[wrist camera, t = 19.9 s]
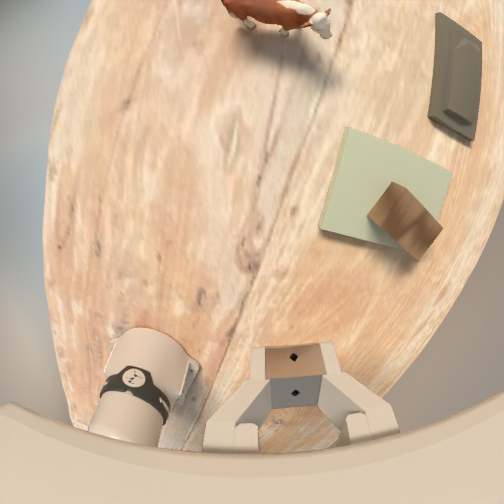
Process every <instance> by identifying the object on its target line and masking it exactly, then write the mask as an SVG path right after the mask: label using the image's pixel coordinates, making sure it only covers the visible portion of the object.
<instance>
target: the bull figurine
mask: <svg viewBox="0 0 504 504" xmlns="http://www.w3.org/2000/svg"><path fill="white" fill-rule="evenodd" d="M221 1H222V3H223V5H224V6H225V7H226V9H227V10H228V13H229V15H230V16H231V17H233V18H235V19H238V18H240V19H241V20H243V22H244V25H247V26H248V27H249V28H251V29H253V28H255V27H256V24H255V23H253V22H251V21H249V20H248V19H247V16H251V17H252V18H254V19H255V20H257V21H259V22H262V23H265V24H277V25H281V26H282V27H283V28H281V29H280V30H279V32H281V33H282V35H283V36H287V35H289V32H288V31H289V30H292V29H297V28H299V27H301V28H305V27H308V26H310V27H311V29H312V30H313V31H315V32H317V33H319V34H320V36H321V37H322V38H323V39H328V38H330V37H332V33H331V32H330V20H329V19H328V18H327V16H328V15H329V13H330V11H331V9H328V10H327V11H325V12H324V13H319V12H318V11H317V10H316V9H315V8H313V7H312V6H309V5H307V4H305V3H303V2H301V1H299V0H221Z"/></svg>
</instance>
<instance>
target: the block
mask: <svg viewBox="0 0 504 504" xmlns="http://www.w3.org/2000/svg"><path fill="white" fill-rule="evenodd" d="M367 216H368V217H369V218H370V219H371V220H373V221H374V222H375V223H376V224H377V225H378V226H379V227H381V228H382V229H383V230H384V231H385V232H386V233H387V234H389V235H390V236H391V237H392V238H393V239H394V240H395V241H396V242H398V243H399V244H400V245H401V246H402V247H403V248H404V249H405V250H406V251H407V252H408V253H410V254H411V255H412V256H413V257H414V258H415V259H416V260H417V261H419V259H420V258H421V257H422V256H423V254H424V253H425V252H426V251H427V249H428V248H429V247H430V245H431V244H432V243H433V241H434V240H435V239H436V237H437V236H438V235H439V233H440V232H441V231H442V229H443V228H442V226H441V225H440V224H439V223H438V222H437V221H436V220H435V218H434V217H433V216H432V215H431V214H430V213H429V212H428V211H427V209H426V208H425V207H424V206H423V205H422V204H421V203H420V202H419V201H418V200H417V199H416V198H415V197H414V196H413V195H412V193H411V192H410V191H409V190H408V189H407V188H405V187H403V186H401V185H399V184H397V183H395V182H391V184H390V185H389V186H388V188H387V189H386V190H385V192H384V193H383V194H382V196H381V197H380V198H379V200H378V201H377V202H376V204H375V205H374V206H373V208H372V209H371V210H370V212H369V213H368V214H367Z"/></svg>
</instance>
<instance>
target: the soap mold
mask: <svg viewBox="0 0 504 504" xmlns="http://www.w3.org/2000/svg"><path fill="white" fill-rule="evenodd" d="M481 77H482V42H481V41H480V40H479V39H477V38H476V37H475V36H473V35H472V34H471V33H470V32H468V31H467V30H465V29H464V28H463V27H461V26H460V25H459V24H457V23H456V22H454V21H453V20H451V19H450V18H448V17H447V16H445V15H444V14H442V13H441V12H440V13H436V14H435V54H434V68H433V78H432V88H431V96H430V104H429V110H428V117H429V118H430V119H432V120H434V121H436V122H438V123H440V124H442V125H443V126H445V127H447V128H449V129H451V130H452V131H454V132H456V133H458V134H459V135H461V136H463V137H464V138H466V139H468V140H469V141H474V138H475V132H476V126H477V119H478V112H479V103H480V92H481Z"/></svg>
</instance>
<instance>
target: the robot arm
mask: <svg viewBox="0 0 504 504" xmlns="http://www.w3.org/2000/svg"><path fill="white" fill-rule="evenodd" d="M109 347H110V350H111V354H110V357H109V359H108V361H107V364H106V366H105V368H104V373H105V376H106V378H107V380H106V382H105V383H104V385H103V387H102V389H101V393H100V401H99V403H98V405H97V408H96V410H95V412H94V414H93V417H92V419H91V421H90V424H89V426H88V431H85V430H82V429H79V428H76V427H73V426H70V425H67V424H64V423H61V422H59V421H56V420H53V419H51V418H48V417H46V416H43V415H41V414H39V413H36V412H34V411H31V410H29V409H27V408H25V407H23V406H21V405H18V404H16V403H12V402H11V403H7V404H5V405H3V406H1V407H0V504H504V391H502V392H500V393H498V394H496V395H494V396H493V397H491V398H489V399H487V400H485V401H483V402H481V403H478V404H476V405H474V406H472V407H470V408H468V409H466V410H463V411H461V412H459V413H456V414H454V415H452V416H449V417H446V418H444V419H441V420H439V421H436V422H433V423H430V424H427V425H424V426H422V427H419V428H416V429H412V430H409V431H406V432H402V433H400V430H399V427H398V424H397V422H396V419H395V416H394V413H393V410H392V408H391V405H390V404H388V403H387V402H385V401H384V400H383V399H381V398H380V397H379V396H377V395H376V394H375V393H373V392H372V391H370V390H369V389H368V388H366V387H365V386H364V385H362V384H361V383H360V382H358V381H357V380H356V379H354V378H353V377H352V376H350V375H349V374H348V373H346V372H343V373H342V371H341V367H340V364H339V360H338V357H337V354H336V350H335V347H334V344H333V342H332V341H327V342H319V343H310V344H299V345H287V346H265V347H251V350H250V374H249V380H245V381H244V382H243V383H242V384H241V385H240V387H239V388H238V389H237V390H236V391H235V392H234V393H233V394H232V395H231V396H230V397H229V399H228V400H227V401H226V402H225V403H224V404H223V405H222V406H221V407H220V408H219V409H218V410H217V411H216V412H215V413H214V414H213V415H212V417H211V418H210V419H209V420H208V421H207V423H206V429H205V435H204V442H203V448H202V453H201V452H190V451H181V450H173V449H166V448H159V447H158V443H159V439H160V434H161V430H162V426H163V425H164V424H165V423H166V421H167V419H168V416H169V413H170V412H171V411H172V409H173V407H174V405H175V404H176V405H179V406H183V404H184V401H185V396H186V394H187V392H188V390H189V388H190V386H191V384H192V382H193V380H194V378H195V376H196V374H197V372H198V370H199V368H200V365H199V363H198V362H197V361H195V360H194V359H192V358H191V357H189V356H188V355H187V353H186V352H185V351H184V349H183V348H182V347H181V346H180V345H179V344H178V343H177V342H176V341H175V340H174V339H172V338H171V337H169V336H167V335H166V334H164V333H162V332H159V331H156V330H153V329H149V328H133V329H130V330H128V331H126V332H125V333H124V334H123V335H122V336H121V337H119V338H114V339H112V340H110V343H109ZM314 405H317V406H318V408H319V409H320V410H321V411H322V412H323V413H324V414H325V415H326V416H327V417H328V418H329V419H330V420H331V422H332V423H333V424H334V425H335V426H336V427H337V428H338V429H339V430H340V431H341V433H340V435H339V438H338V440H337V443H336V445H335V448H328V449H321V450H313V451H303V452H292V453H277V454H261V448H260V440H259V432H258V430H259V428H260V427H261V425H262V424H263V422H264V421H265V420H266V418H267V417H268V415H269V413H270V412H271V410H272V409H277V408H288V407H301V406H314Z"/></svg>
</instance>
